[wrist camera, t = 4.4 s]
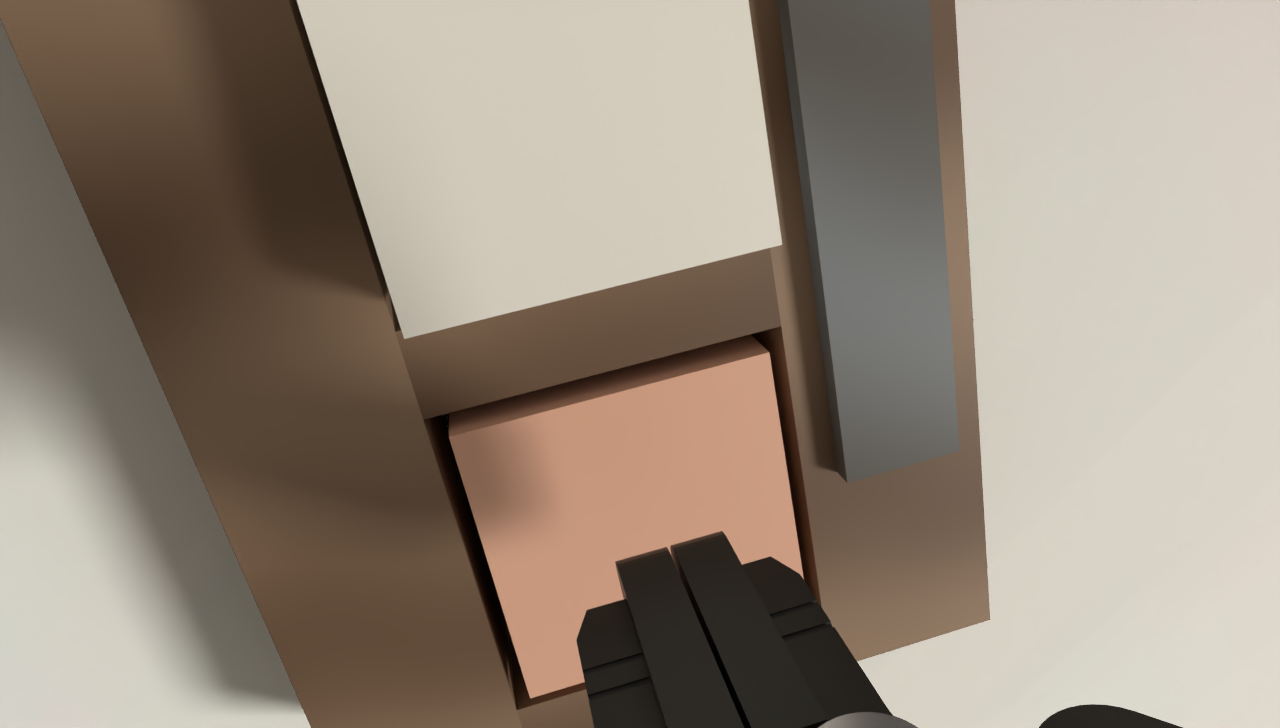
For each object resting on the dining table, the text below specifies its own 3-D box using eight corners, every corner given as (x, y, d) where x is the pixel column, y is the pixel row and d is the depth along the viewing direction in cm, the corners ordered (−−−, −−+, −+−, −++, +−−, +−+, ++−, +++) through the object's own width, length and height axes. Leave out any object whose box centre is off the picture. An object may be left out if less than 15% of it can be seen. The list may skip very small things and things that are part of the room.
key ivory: (300, -75, 11) (263, -106, 9) (670, -146, 12) (722, -192, 10) (412, 290, 13) (403, 339, 11) (728, 213, 14) (782, 245, 11)
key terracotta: (449, 380, 15) (449, 437, 13) (724, 309, 16) (769, 352, 13) (519, 613, 17) (530, 698, 15) (763, 542, 17) (809, 613, 15)
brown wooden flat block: (-280, -873, 9) (-582, -1256, 6) (790, -955, 11) (904, -1299, 8) (365, 716, 17) (348, 838, 14) (923, 549, 19) (1002, 632, 16)
